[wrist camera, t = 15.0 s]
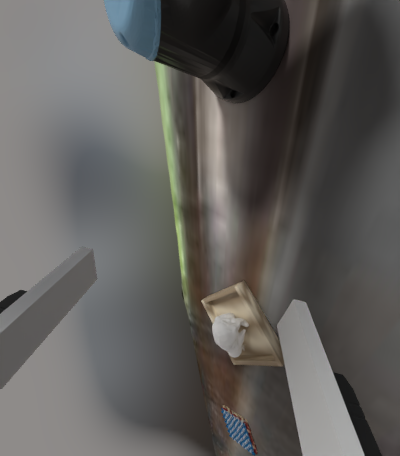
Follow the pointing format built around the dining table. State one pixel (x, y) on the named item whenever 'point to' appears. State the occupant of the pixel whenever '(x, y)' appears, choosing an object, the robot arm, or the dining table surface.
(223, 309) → the birch tray
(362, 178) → the dining table surface
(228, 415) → the woven mat
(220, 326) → the white rounded lump
